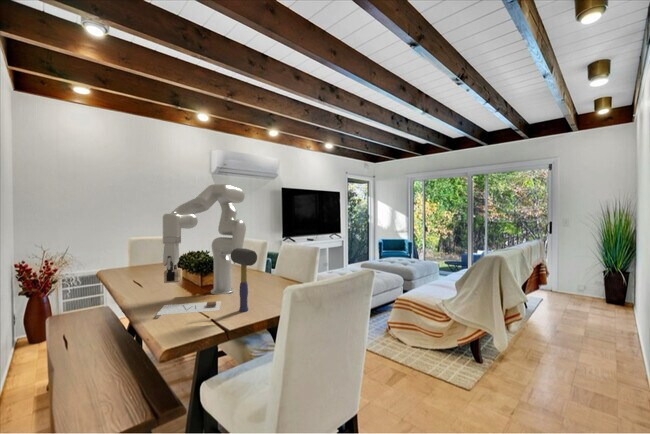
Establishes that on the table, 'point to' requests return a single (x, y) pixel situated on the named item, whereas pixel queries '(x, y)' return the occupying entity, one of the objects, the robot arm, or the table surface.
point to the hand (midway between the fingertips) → (172, 279)
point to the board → (186, 308)
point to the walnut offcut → (210, 304)
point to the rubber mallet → (243, 272)
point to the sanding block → (177, 276)
